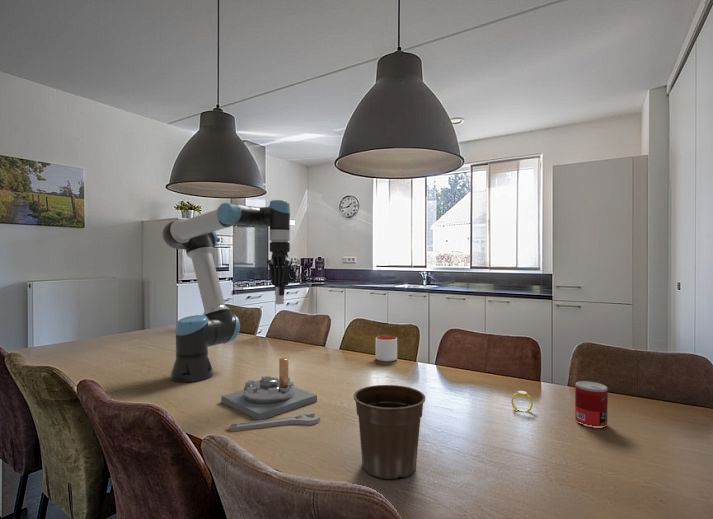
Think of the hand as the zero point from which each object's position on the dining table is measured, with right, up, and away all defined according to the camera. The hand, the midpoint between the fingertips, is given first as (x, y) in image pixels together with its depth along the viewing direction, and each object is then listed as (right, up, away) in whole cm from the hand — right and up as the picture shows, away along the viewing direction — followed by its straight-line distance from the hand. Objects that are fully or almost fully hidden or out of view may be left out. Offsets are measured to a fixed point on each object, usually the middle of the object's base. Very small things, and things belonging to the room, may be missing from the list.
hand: (279, 304), depth 154 cm
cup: (+43, -30, +34) cm, 62 cm away
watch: (+80, -30, -29) cm, 90 cm away
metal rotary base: (+1, -28, -21) cm, 35 cm away
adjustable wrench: (+6, -30, -38) cm, 49 cm away
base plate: (+1, -30, -21) cm, 36 cm away
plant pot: (+36, -30, -62) cm, 78 cm away
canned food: (+96, -30, -38) cm, 107 cm away
